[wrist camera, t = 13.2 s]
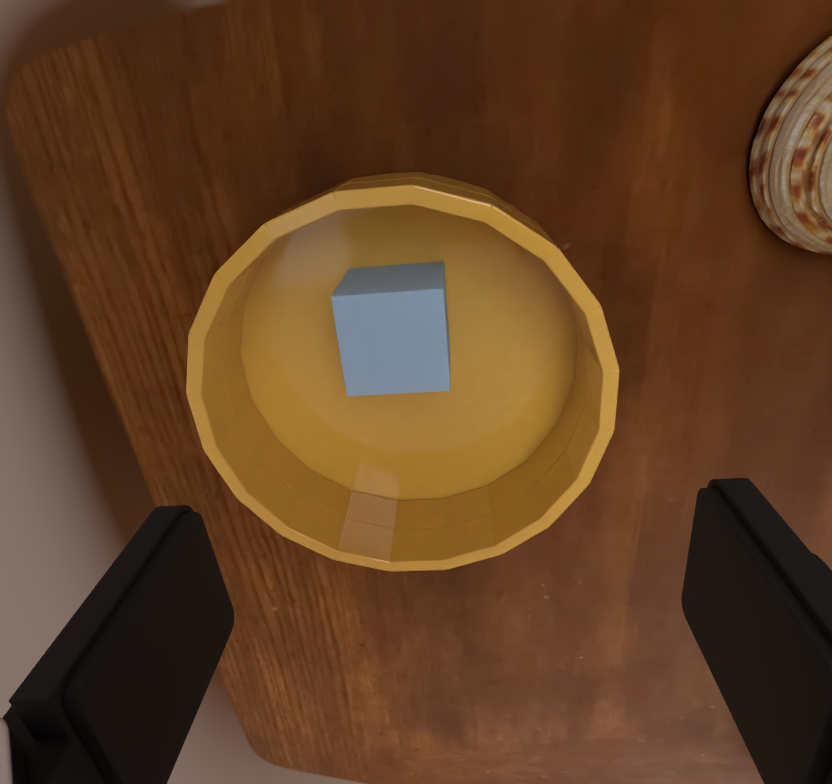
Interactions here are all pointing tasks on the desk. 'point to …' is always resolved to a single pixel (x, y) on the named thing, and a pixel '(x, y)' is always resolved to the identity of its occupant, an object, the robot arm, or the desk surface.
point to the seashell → (797, 156)
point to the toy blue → (393, 329)
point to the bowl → (409, 412)
